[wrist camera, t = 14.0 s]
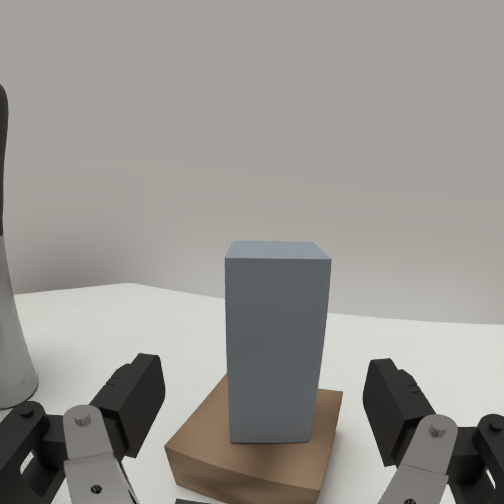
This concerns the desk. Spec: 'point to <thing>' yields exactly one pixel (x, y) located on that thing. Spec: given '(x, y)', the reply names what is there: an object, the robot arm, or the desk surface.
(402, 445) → the robot arm
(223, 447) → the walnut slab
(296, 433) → the slate pillar
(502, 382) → the desk surface
